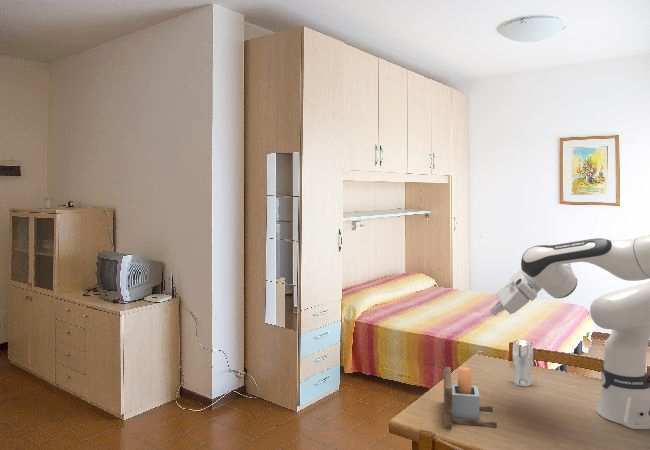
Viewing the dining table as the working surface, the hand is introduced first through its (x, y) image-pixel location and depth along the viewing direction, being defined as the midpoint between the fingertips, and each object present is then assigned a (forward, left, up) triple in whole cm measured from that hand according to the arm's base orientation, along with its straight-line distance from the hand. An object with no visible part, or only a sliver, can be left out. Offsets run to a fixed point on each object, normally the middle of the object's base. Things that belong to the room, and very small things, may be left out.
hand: (492, 313), depth 166 cm
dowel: (+9, +14, -28) cm, 33 cm away
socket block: (+9, +14, -29) cm, 34 cm away
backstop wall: (+8, +14, -29) cm, 33 cm away
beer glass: (-13, -17, -30) cm, 36 cm away
